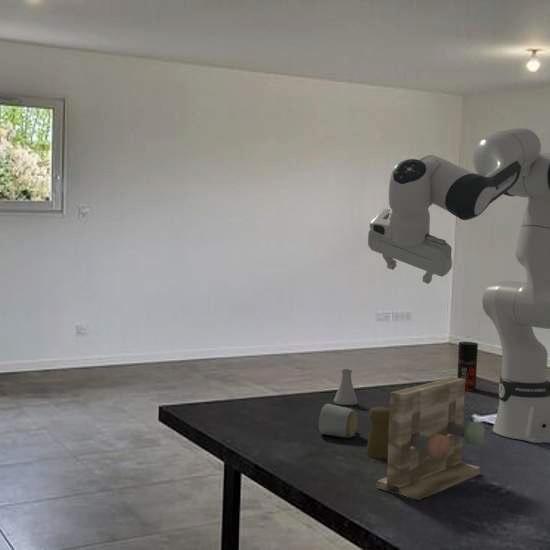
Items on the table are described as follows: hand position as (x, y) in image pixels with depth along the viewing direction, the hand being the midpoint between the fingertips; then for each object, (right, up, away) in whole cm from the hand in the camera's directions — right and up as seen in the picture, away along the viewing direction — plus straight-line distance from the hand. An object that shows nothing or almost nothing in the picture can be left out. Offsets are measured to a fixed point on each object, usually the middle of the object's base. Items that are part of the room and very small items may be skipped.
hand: (409, 274), depth 186 cm
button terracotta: (-1, -36, -28) cm, 45 cm away
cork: (-7, -42, -2) cm, 42 cm away
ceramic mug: (-15, -41, +15) cm, 46 cm away
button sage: (+9, -35, -18) cm, 40 cm away
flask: (-10, -38, +49) cm, 63 cm away
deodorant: (+31, -37, +73) cm, 88 cm away
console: (+1, -43, -20) cm, 47 cm away
